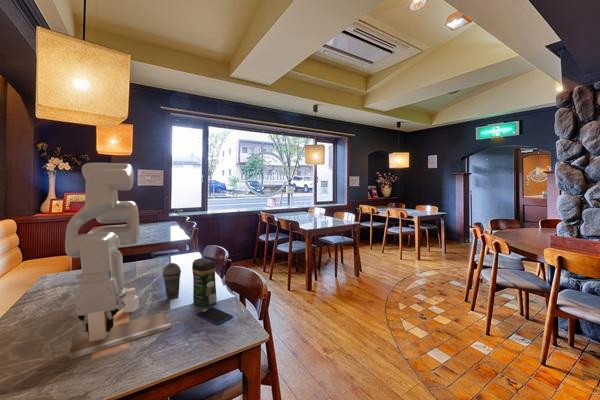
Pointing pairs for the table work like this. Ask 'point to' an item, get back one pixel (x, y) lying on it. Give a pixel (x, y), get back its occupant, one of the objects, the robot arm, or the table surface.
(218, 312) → the cell phone
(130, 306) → the pepper shaker
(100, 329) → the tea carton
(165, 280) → the beverage cup
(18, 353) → the table surface
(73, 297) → the table surface
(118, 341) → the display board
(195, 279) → the coffee jar
